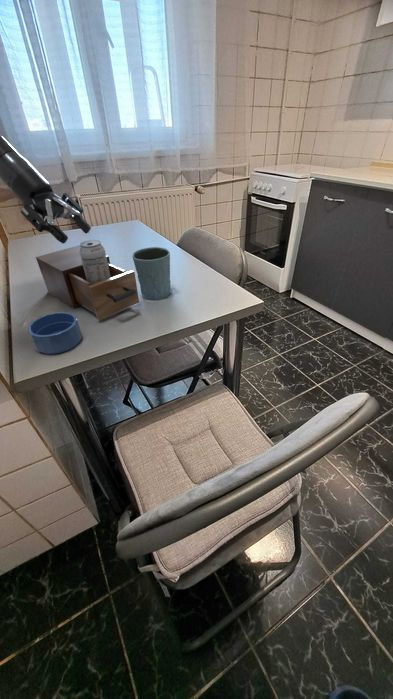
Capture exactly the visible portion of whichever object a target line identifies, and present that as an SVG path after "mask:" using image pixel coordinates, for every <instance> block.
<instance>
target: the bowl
mask: <svg viewBox="0 0 393 699" xmlns="http://www.w3.org/2000/svg"><path fill="white" fill-rule="evenodd" d="M27 333H28V337H29V338H30V340H31V342H32V345H33V347H34V349H35V350H36V351H38V352H40V353H43V354H45V355H57V354H58V355H59V354H61V353H65V352H67V351H70V350H71V349H73V348H75V347H77V345H78V344H79V343H80V342H81V340H82V337H83V334H82V331H81V327H80V324H79V321H78V318H77V315H76V314H74V313H72V312H67V311H57V312H50V313H46V314H45V315H41V316H39V317H37V318H36V319H34V320H32V321H31V322H30V323H29V325H28V326H27Z"/></svg>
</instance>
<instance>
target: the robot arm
mask: <svg viewBox="0 0 393 699" xmlns="http://www.w3.org/2000/svg"><path fill="white" fill-rule="evenodd" d="M0 181H2V183H3V184H4V185H5V186H6V188H8V189H9V190H10V191H11V192H12V193H13V194H14V195H15V196H16V197H17V198H18V199H19V200H20V202H22V203H23V205H22V208H21V210H20V213H21V214H22V215H23V217H24V218H25V219H26V220H27V221H28V222H29V223H30V224H31V225H32V226H33V227H34V228H35V230H36V231H37V232H39V233H43V232H47V233H50V235H52V236H53V237H54V238H55V239H56V240H57V241H58V242H59V243H61V244H66V243H67V242H68V239H69V237H68V235H67V234H66V232H64V231H63V230H62V229H61V228H60V227H59V226H58V225H57V224H55V222H54V220H57V219H60V218H62V219H63V220H70V221H73V222H74V223H75V224H76V226H78V228H79V229H80V230H81V231H82V232H83V233H84V234H88V233H90V231H91V229H92V227H91V225H90V224H89V223H88V222H87V220H85V218H84V217H83V216H82V214H84V208H82V207H81V206H80V205H79V203H78V202H76V200H74V199H73V198H72V197H71V196H70V195H69V194H68V193H67V192H63V193H62V195H61V196H58V195H57V194H56V193H55V192H54V191H53V188H52V185H51V183H49V181H47V179H46V178H45V177H44V176H43V175H42V174H41V173H40V172H39V171H38V170H37V169H36V168H35V167H34V166H33V164H31V163H30V162H29V161H28V160H27V159H26V158H25V157H24V156H22V154H20V152H18V150H16V148H15V147H13V145H12V144H11V143H10V142H9V141H8V140H7V139H6V138H5V137H4V136H3V135H1V134H0ZM65 209H66V211H65Z"/></svg>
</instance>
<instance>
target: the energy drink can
mask: <svg viewBox="0 0 393 699" xmlns="http://www.w3.org/2000/svg"><path fill="white" fill-rule="evenodd" d="M79 245H80V246H81V247H80V251H79V252H80V256H81V260H82V264H83V268H84V271H85V275H86V279H87V281H88V282H90V283H91V285H93V284H95V283H98V282H101V281H104V280H106V279H109V278H111V277H110V272H109V267H108V263H107V258H106V256H107V253H106V249H105V247H104V246H103V244H102V242H101V241H100V240H98V239H89V240H84V241H82V242H80V244H79Z"/></svg>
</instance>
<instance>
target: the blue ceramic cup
mask: <svg viewBox="0 0 393 699" xmlns="http://www.w3.org/2000/svg"><path fill="white" fill-rule="evenodd" d="M131 256H132V260H133V264H134V268H135V271H136V274H137V279H138V280H137V281H138V283H139V286H140V287H139V288H140V292H141V296H142V297H143V298H145V299H147V300H154V301H158V300H163V299H165V298H167V297H169V296H170V295H171V290H172V289H171V252H170V249H167V248H165V247H160V246H153V247H151V246H150V247H145V248H140V249H138V250H136V251H134V252H133V253H132V255H131Z"/></svg>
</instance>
